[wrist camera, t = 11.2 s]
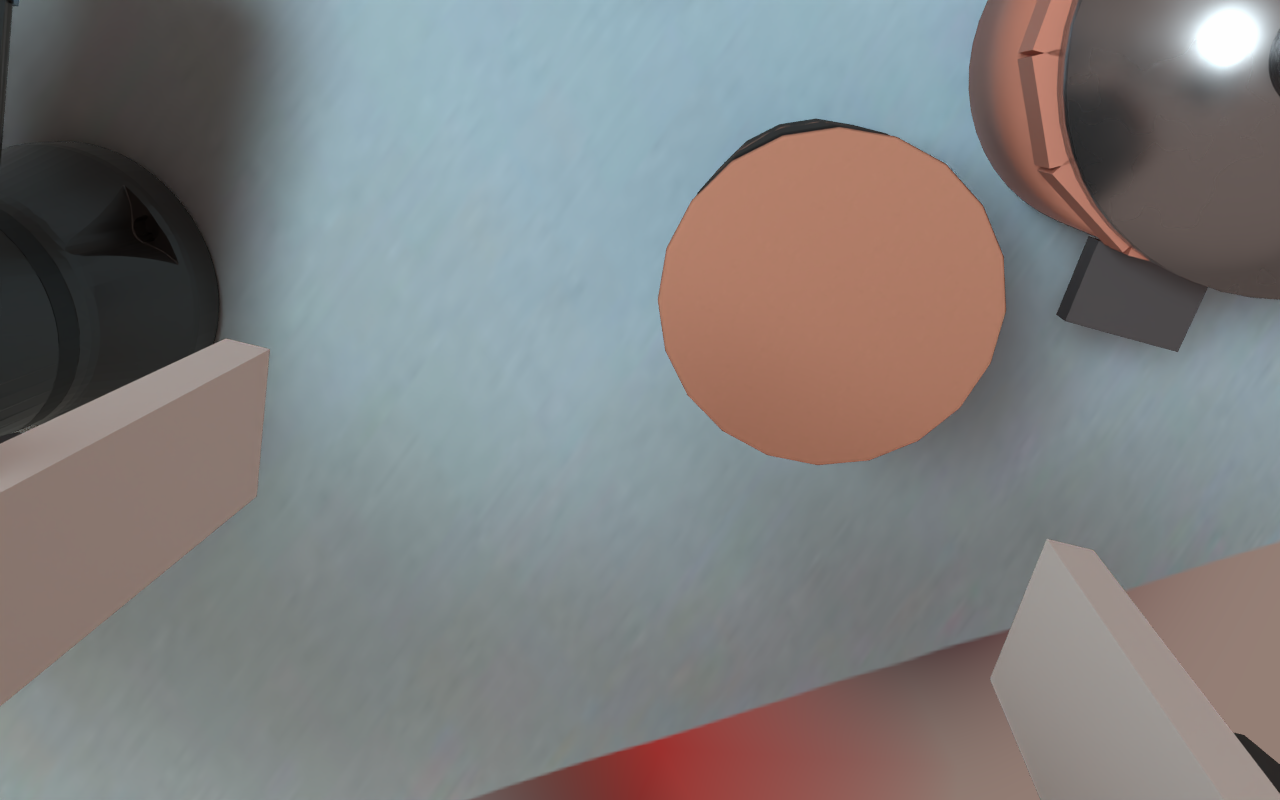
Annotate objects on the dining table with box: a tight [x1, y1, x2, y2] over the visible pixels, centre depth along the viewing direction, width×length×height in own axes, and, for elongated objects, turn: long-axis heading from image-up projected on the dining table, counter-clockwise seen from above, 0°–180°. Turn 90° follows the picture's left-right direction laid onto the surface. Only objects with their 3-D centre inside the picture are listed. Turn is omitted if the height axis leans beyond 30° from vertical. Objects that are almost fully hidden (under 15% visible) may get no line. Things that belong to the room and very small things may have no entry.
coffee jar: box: [658, 119, 1006, 465], centre depth 37 cm, size 11×11×18 cm
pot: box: [969, 0, 1208, 352], centre depth 36 cm, size 21×15×12 cm
